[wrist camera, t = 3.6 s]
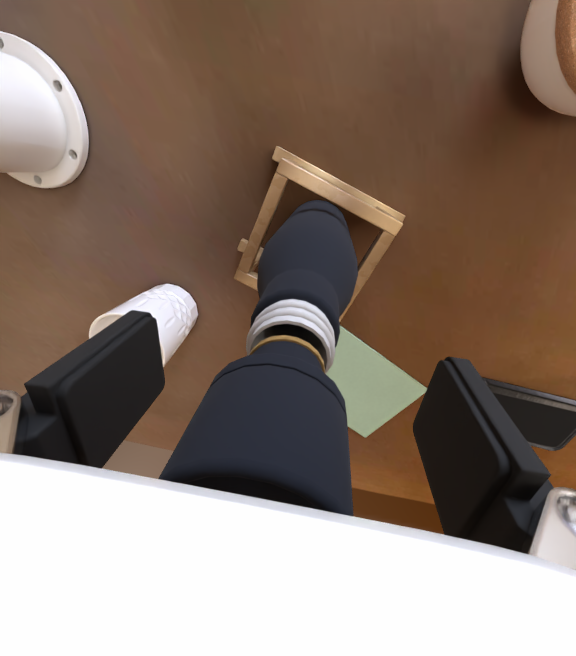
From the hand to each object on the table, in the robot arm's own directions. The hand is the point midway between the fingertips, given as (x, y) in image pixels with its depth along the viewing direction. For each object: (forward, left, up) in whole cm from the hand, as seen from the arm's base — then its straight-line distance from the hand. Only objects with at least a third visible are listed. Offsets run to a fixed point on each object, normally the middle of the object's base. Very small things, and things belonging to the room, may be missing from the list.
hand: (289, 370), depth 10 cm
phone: (+35, -3, -25) cm, 43 cm away
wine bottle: (0, 0, -25) cm, 25 cm away
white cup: (-9, -19, -25) cm, 32 cm away
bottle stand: (0, 0, -25) cm, 25 cm away
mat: (+14, -13, -25) cm, 31 cm away
